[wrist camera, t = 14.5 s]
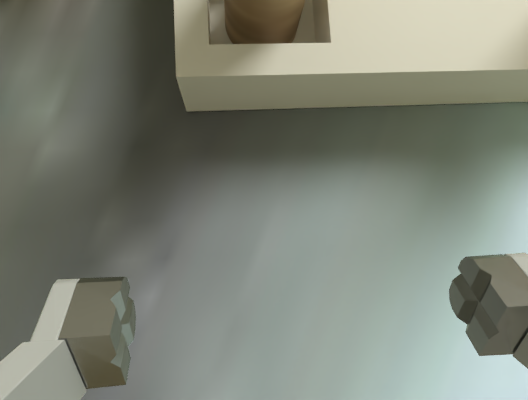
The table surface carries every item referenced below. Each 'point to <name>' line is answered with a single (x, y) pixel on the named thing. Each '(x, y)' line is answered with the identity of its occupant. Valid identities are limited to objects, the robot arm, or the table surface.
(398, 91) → the stool seat
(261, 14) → the stool leg
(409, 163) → the table surface
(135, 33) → the table surface
